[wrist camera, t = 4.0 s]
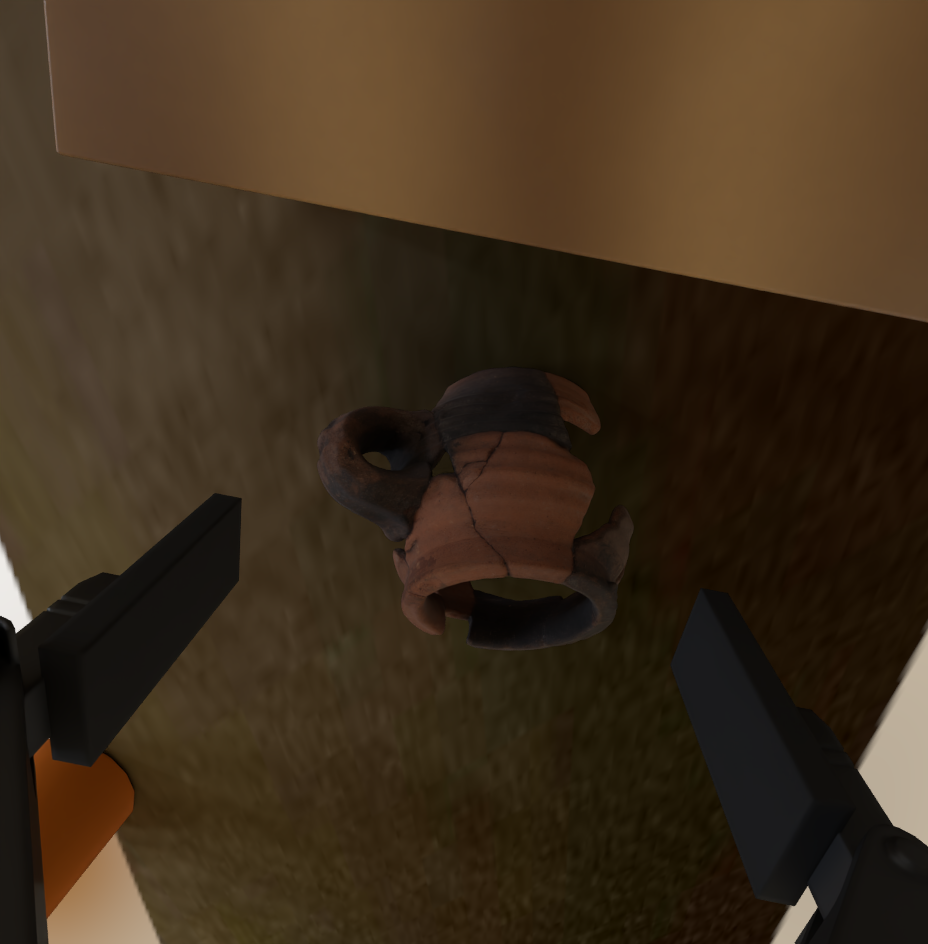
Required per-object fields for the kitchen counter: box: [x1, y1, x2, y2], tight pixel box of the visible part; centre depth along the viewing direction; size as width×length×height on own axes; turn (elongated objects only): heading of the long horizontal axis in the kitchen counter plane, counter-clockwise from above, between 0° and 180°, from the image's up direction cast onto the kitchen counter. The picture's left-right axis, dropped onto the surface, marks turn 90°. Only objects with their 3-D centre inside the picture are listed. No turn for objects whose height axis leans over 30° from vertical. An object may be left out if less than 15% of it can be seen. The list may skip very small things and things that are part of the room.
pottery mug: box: [317, 367, 634, 650], centre depth 22 cm, size 12×10×8 cm
